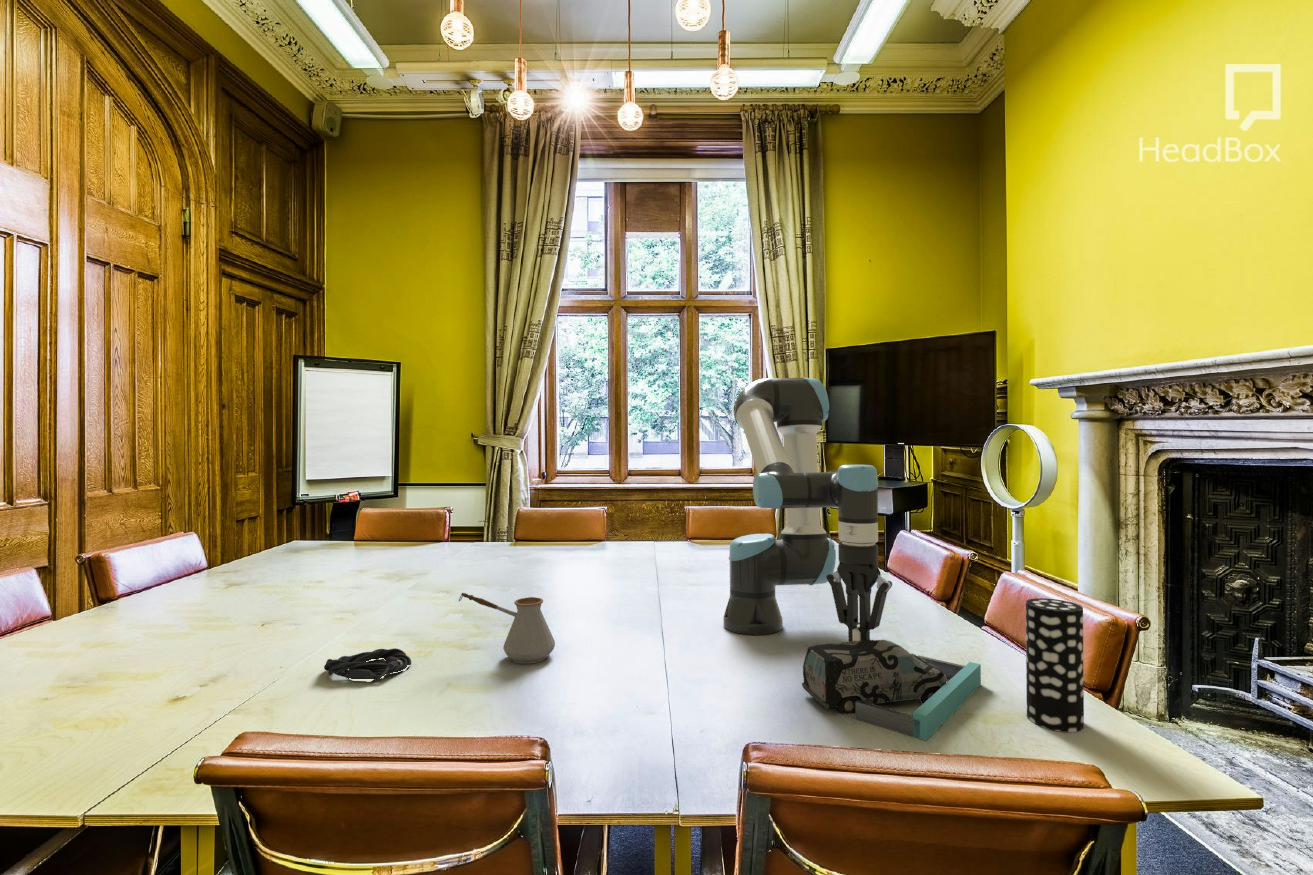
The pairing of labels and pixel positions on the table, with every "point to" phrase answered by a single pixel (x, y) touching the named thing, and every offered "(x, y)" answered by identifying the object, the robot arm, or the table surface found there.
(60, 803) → the table surface
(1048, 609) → the white-spotted black cylinder
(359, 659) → the cable
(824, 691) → the toy car
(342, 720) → the table surface
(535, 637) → the coffee pot
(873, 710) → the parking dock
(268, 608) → the table surface
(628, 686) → the table surface
